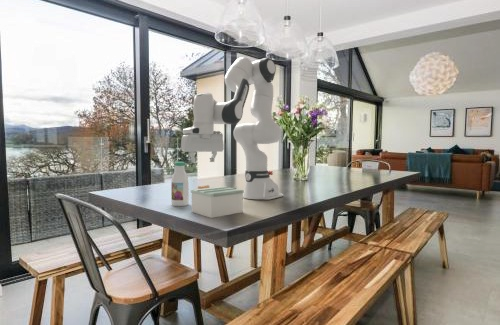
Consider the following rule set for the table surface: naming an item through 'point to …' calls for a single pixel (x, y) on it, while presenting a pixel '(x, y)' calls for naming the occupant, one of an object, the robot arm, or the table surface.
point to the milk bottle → (180, 186)
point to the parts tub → (217, 205)
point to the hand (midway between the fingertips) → (203, 162)
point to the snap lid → (216, 191)
